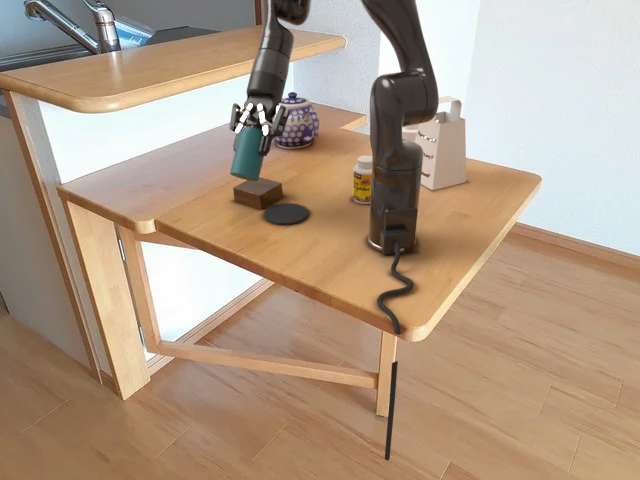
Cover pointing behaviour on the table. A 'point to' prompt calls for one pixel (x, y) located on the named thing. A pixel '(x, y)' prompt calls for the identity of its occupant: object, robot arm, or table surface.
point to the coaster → (286, 214)
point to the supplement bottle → (362, 180)
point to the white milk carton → (410, 132)
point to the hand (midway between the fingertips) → (249, 153)
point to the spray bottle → (248, 151)
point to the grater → (443, 147)
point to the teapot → (298, 123)
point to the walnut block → (258, 192)
